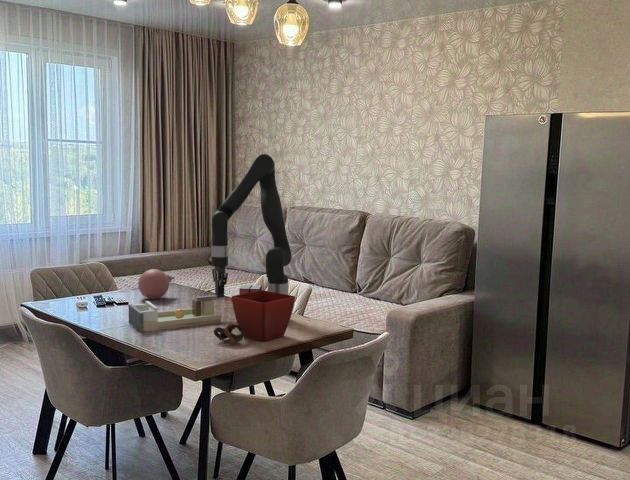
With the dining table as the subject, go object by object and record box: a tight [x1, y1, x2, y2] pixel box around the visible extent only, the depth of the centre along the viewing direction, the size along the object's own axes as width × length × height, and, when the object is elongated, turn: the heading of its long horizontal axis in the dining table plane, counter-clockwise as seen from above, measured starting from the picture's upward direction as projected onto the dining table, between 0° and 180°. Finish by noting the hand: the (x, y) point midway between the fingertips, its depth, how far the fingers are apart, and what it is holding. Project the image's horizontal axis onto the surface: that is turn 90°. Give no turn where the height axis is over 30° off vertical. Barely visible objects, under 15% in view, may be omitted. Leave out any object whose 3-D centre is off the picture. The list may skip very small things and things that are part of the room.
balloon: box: [137, 268, 175, 300], centre depth 327 cm, size 15×20×15 cm
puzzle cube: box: [238, 284, 263, 295], centre depth 312 cm, size 10×10×10 cm
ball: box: [174, 308, 185, 319], centre depth 280 cm, size 4×4×4 cm
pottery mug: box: [213, 323, 244, 346], centre depth 250 cm, size 12×10×8 cm
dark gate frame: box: [191, 278, 225, 317], centre depth 286 cm, size 5×14×16 cm, turn 121°
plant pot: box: [231, 289, 296, 342], centre depth 259 cm, size 19×19×17 cm
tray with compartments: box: [128, 300, 222, 333], centre depth 279 cm, size 18×36×9 cm, turn 121°
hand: (219, 292), depth 288 cm, fingers closed on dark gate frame, 3 cm apart
